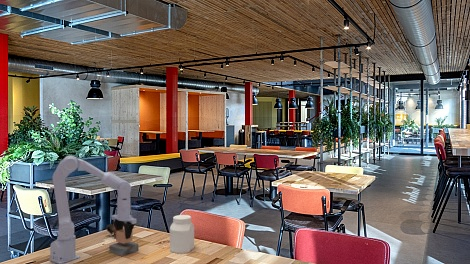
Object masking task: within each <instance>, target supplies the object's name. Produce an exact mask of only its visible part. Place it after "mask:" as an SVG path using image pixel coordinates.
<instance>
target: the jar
mask: <svg viewBox="0 0 470 264" xmlns="http://www.w3.org/2000/svg"><path fill="white" fill-rule="evenodd" d="M172 220H173V221H172V223H171V224H170V227H169V252H171V253H174V254H187V253H191V250H193V249H194V248H195V225H194V223H193V222H192V216H191V215H188V214H178V215H175V216H173V218H172Z"/></svg>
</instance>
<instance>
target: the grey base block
mask: <svg viewBox="0 0 470 264" xmlns="http://www.w3.org/2000/svg"><path fill="white" fill-rule="evenodd" d="M108 248H109V253H111V254H114V255H116V256H121V257H124V256H126V255H130V254H133V253H136V252H138V251H139V243H137V242H135V241H134V242H133V241H130V242H127V243H124V244H123V243H119V242H115V243H112V244H110V245H109V247H108Z"/></svg>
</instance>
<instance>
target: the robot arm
mask: <svg viewBox="0 0 470 264" xmlns="http://www.w3.org/2000/svg"><path fill="white" fill-rule="evenodd" d="M75 171H78V172H79V171H80V172H81V171H82V172H84V171H85V172H87V173H89V174H90V175H92V176H95V177H96V178H98V179H100V180H101V181H100V182H101V184H103V185H105V186H106V187H108V188H110V189H112V190H114V191H115V190H116V191H117V198H116V199H117V201H116V202H117V203H116V206H117V211H116V212H117V214H112V215H111V220H114V221H112V225H114V227H115V229H116V231H117V230H121V229H125V237H126V239H128V238H130V237H131V233H132V234H133V230H134V228H135V225H136V224H137V221H138V220H137V218H134V217H133V215H131V191H132V186H131V184H130V183H129V182H128V181H127V180H125V179H124V178H123V177H120V176H117V175H116V174H115V172H112V171H107V172H104V171H102V170H101V169H99V168H97V167H96V166H95V165H93V164H91V163H90V162H87V161H86V160H85V159H84V160H83V159H81V158H77V157H76V156H74V155H67V156H65V157H64V158H63V159H62V160H61V161H60V162H59V163H58V165H57V167H56V169H55V170H54V172H53V174H52V185H53V189H54V190H53V191H54V197H55V202H56V204H55V205H56V210H57V215H58V216H57V217H58V231H57V239H56V240H54V241H52V242H51V243H50V247H49V251H50V252H49V253H50V254H49V256H50V258H49V259H48V260H49V261H50V262H53V263H55V264H64V263H67V262H71V261H74V260H76V259H80V258H81V256H80V255H77V252H76V249H77V248H76V239H77V238H76V235H75V224H74V222H73V221H72V217H71V212H70V205H69V200H68V192H67V186H66V179H67V178H68V176H69V175H70V174H72V173H73V172H75ZM124 222H125V224H124Z"/></svg>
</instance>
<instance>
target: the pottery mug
mask: <svg viewBox="0 0 470 264" xmlns="http://www.w3.org/2000/svg"><path fill="white" fill-rule="evenodd" d="M125 223H126V222H124V224H125ZM105 229H106V232H108V233H109V234H110V235H111V236H112V235H114V238H115V239H116V229H115V227H114V225H113V224H107V225H106V228H105Z"/></svg>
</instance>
